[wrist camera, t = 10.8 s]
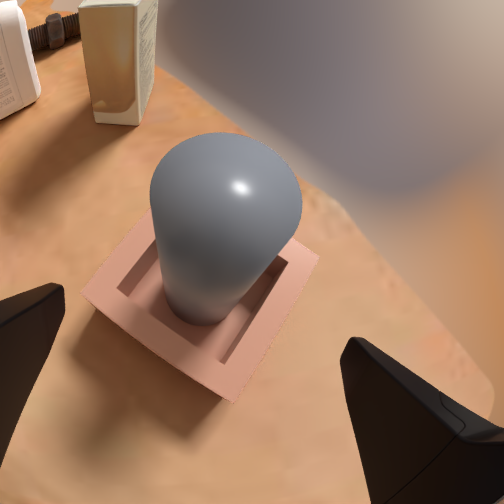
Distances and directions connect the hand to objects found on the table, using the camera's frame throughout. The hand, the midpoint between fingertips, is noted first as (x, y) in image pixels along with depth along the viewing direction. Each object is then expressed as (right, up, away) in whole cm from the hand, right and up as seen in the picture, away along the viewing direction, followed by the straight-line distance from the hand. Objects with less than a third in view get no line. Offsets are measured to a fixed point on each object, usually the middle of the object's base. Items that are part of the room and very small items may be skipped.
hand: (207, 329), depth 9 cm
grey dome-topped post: (-2, 0, +11) cm, 11 cm away
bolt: (-25, +26, +18) cm, 41 cm away
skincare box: (-10, +16, +17) cm, 25 cm away
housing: (-2, 0, +12) cm, 12 cm away
